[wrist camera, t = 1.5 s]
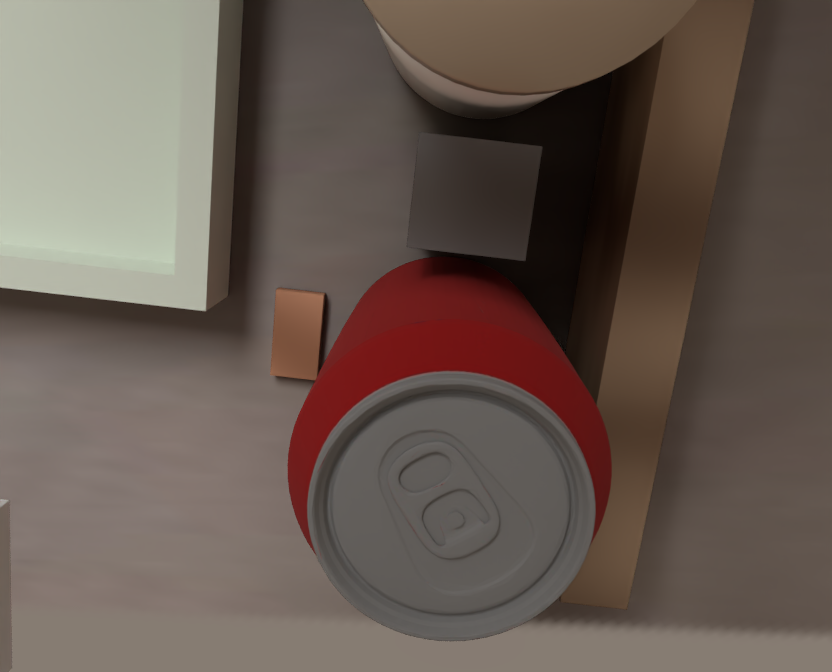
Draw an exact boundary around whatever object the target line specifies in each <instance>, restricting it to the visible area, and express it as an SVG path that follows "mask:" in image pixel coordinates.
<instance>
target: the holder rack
mask: <svg viewBox="0 0 832 672" xmlns="http://www.w3.org/2000/svg"><path fill="white" fill-rule="evenodd" d="M754 1H755V0H697V1H696V2H695V4H694V5H693V6H692V7H691V8H690V9H689V11H688V12H687V13H686V14H685V15H684V16H683V17H682V19H681V20H680V21H679V22H678V23H677V24H676V25H675V26H674V27H673V28H672V29H671V30H670V31H669V32H668V33H667V34H665V35H664V36H663V37H662V38H661V39H660V40H659V41H658V42H657V43H656V44H654V45H653V46H652V47H650V48H649V49H647V50H646V51H644V52H643V53H642V54H640V55H639V56H637V57H636V58H634V59H633V60H632V61H630V62H628V63H626V64H624V65H622V66H620V67H618V68H616V69H615V70H613V75H612V81H611V87H610V92H609V98H608V104H607V110H606V116H605V122H604V128H603V134H602V140H601V146H600V151H599V157H598V163H597V169H596V175H595V181H594V187H593V193H592V199H591V205H590V210H589V216H588V222H587V228H586V234H585V240H584V246H583V252H582V258H581V264H580V269H579V275H578V281H577V287H576V293H575V299H574V305H573V311H572V317H571V323H570V328H569V334H568V340H567V346H566V352H565V355H566V356H567V358H568V360H569V361H570V363H571V364H572V366H573V367H574V369H575V371H576V372H577V374H578V375H579V377H580V379H581V380H582V382H583V383H584V385H585V387H586V388H587V390H588V391H589V393H590V395H591V396H592V398H593V400H594V402H595V404H596V405H597V407H598V409H599V411H600V414H601V416H602V419H603V421H604V424H605V428H606V431H607V434H608V439H609V444H610V449H611V460H612V478H611V489H610V494H609V499H608V504H607V507H606V510H605V514H604V517H603V520H602V522H601V525H600V528H599V530H598V532H597V534H596V536H595V538H594V540H593V542H592V543H591V545H590V547H589V550H588V553H587V556H586V558H585V560H584V562H583V564H582V566H581V568H580V570H579V571H578V573H577V575H576V577H575V578H574V580H573V581H572V582H571V584H570V585H569V586H568V587H567V589H566V590H565V591H564V592H563V593H562V595H561V596H560V597H559V599H560V602H564V603H572V604H581V605H590V606H599V607H608V608H616V609H625V610H627V607H628V603H629V598H630V593H631V588H632V584H633V579H634V574H635V569H636V564H637V560H638V555H639V550H640V545H641V541H642V536H643V531H644V526H645V521H646V517H647V512H648V507H649V502H650V498H651V493H652V488H653V483H654V478H655V474H656V469H657V464H658V459H659V455H660V450H661V445H662V440H663V435H664V431H665V426H666V421H667V416H668V412H669V407H670V402H671V397H672V392H673V388H674V383H675V378H676V373H677V369H678V364H679V359H680V354H681V349H682V345H683V340H684V335H685V330H686V326H687V321H688V316H689V311H690V306H691V302H692V297H693V292H694V287H695V283H696V278H697V273H698V268H699V263H700V259H701V254H702V249H703V244H704V240H705V235H706V230H707V225H708V220H709V216H710V211H711V206H712V201H713V197H714V192H715V187H716V182H717V177H718V173H719V168H720V163H721V158H722V154H723V149H724V144H725V139H726V134H727V130H728V125H729V120H730V115H731V111H732V106H733V101H734V96H735V91H736V87H737V82H738V77H739V72H740V68H741V63H742V58H743V53H744V48H745V44H746V39H747V34H748V29H749V25H750V20H751V15H752V10H753V5H754ZM542 147H543V146H535V145H526V144H518V143H509V142H501V141H492V140H484V139H475V138H466V137H458V136H449V135H441V134H432V133H424V132H419V139H418V148H417V157H416V166H415V175H414V184H413V193H412V202H411V211H410V220H409V229H408V238H407V247H409V248H418V249H426V250H435V251H444V252H452V253H461V254H469V255H478V256H486V257H495V258H504V259H512V260H521V261H525V260H526V253H527V246H528V240H529V233H530V226H531V220H532V213H533V207H534V200H535V193H536V187H537V180H538V173H539V167H540V160H541V153H542ZM324 304H325V293H320V292H312V291H303V290H295V289H286V288H278V289H276V299H275V314H274V329H273V343H272V358H271V373H270V375H274V376H283V377H291V378H300V379H309V380H316V378H317V376H318V374H319V363H320V351H321V339H322V328H323V316H324Z"/></svg>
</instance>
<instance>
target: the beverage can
mask: <svg viewBox="0 0 832 672" xmlns="http://www.w3.org/2000/svg"><path fill="white" fill-rule="evenodd" d="M611 478H612V460H611V449H610V444H609V439H608V434H607V431H606V428H605V424H604V421H603V419H602V416H601V414H600V411H599V409H598V407H597V405H596V404H595V402H594V400H593V398H592V396H591V395H590V393H589V391H588V390H587V388H586V387H585V385H584V383H583V382H582V380H581V379H580V377H579V375H578V374H577V372H576V371H575V369H574V367H573V366H572V364H571V363H570V361H569V360H568V358H567V356H566V355H565V353H564V352H563V350H562V349H561V347H560V346H559V344H558V343H557V341H556V340H555V338H554V337H553V335H552V334H551V332H550V331H549V329H548V328H547V326H546V325H545V324H544V322H543V321H542V319H541V318H540V316H539V315H538V314H537V312H536V311H535V310H534V308H533V307H532V306H531V304H530V303H529V302H528V300H527V299H526V298H525V296H524V295H523V294H522V292H521V291H520V290H519V289H518V288H517V287H516V286H515V285H514V284H513V283H512V282H511V281H510V280H508V279H507V278H506V277H505V276H503V275H502V274H500V273H499V272H497V271H495V270H494V269H492V268H490V267H488V266H486V265H483V264H481V263H478V262H475V261H472V260H469V259H464V258H458V257H444V256H441V257H430V258H423V259H419V260H415V261H412V262H409V263H406V264H404V265H402V266H399V267H397V268H395V269H394V270H392V271H390V272H389V273H387V274H385V275H384V276H383V277H381V278H380V279H379V280H378V281H376V282H375V283H374V284H373V285H372V286H371V287H370V288H369V289H368V290H367V292H366V293H365V294H364V295H363V297H362V298H361V299H360V301H359V302H358V304H357V306H356V307H355V309H354V310H353V312H352V314H351V315H350V317H349V319H348V320H347V322H346V324H345V325H344V327H343V329H342V331H341V333H340V334H339V336H338V338H337V340H336V342H335V343H334V345H333V347H332V349H331V351H330V353H329V355H328V357H327V359H326V360H325V362H324V364H323V366H322V368H321V370H320V372H319V374H318V376H317V378H316V380H315V382H314V384H313V386H312V388H311V390H310V392H309V394H308V396H307V398H306V400H305V402H304V405H303V407H302V409H301V411H300V413H299V415H298V418H297V421H296V423H295V426H294V429H293V433H292V437H291V441H290V447H289V454H288V483H289V492H290V496H291V501H292V505H293V509H294V512H295V515H296V518H297V520H298V523H299V525H300V528H301V530H302V532H303V534H304V536H305V538H306V540H307V542H308V544H309V545H310V547H311V548H312V550H313V551H314V553H315V554H316V556H317V558H318V561H319V563H320V564H321V566H322V568H323V570H324V572H325V573H326V575H327V576H328V578H329V580H330V581H331V582H332V584H333V585H334V586H335V587H336V589H337V590H338V591H339V592H340V593H341V594H342V596H343V597H344V598H345V599H346V600H347V601H349V602H350V603H351V604H352V605H353V606H354V607H355V608H357V609H358V610H359V611H360V612H362V613H363V614H365V615H366V616H368V617H369V618H371V619H372V620H374V621H376V622H378V623H380V624H381V625H383V626H386V627H388V628H390V629H393V630H395V631H398V632H400V633H403V634H406V635H410V636H414V637H418V638H424V639H429V640H437V641H466V640H474V639H480V638H484V637H489V636H493V635H496V634H500V633H503V632H506V631H508V630H511V629H513V628H515V627H517V626H520V625H522V624H524V623H525V622H527V621H529V620H531V619H532V618H534V617H535V616H537V615H538V614H540V613H541V612H543V611H544V610H545V609H546V608H548V607H549V606H550V605H551V604H552V603H553V602H554V601H556V600H557V599H558V598H559V597H560V596H561V595H562V593H563V592H564V591H565V590H566V589H567V587H568V586H569V585H570V584H571V582H572V581H573V580H574V578H575V577H576V575H577V573H578V571H579V570H580V568H581V566H582V564H583V562H584V560H585V558H586V556H587V553H588V550H589V547H590V545H591V543H592V542H593V540H594V538H595V536H596V534H597V532H598V530H599V528H600V525H601V522H602V520H603V517H604V514H605V510H606V507H607V504H608V499H609V494H610V489H611Z"/></svg>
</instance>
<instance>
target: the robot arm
mask: <svg viewBox="0 0 832 672" xmlns="http://www.w3.org/2000/svg"><path fill="white" fill-rule="evenodd" d="M11 632H12V627H11V563H10V500H3V499H0V672H9V671H10V669H11V668H12V633H11Z"/></svg>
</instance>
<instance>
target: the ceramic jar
mask: <svg viewBox="0 0 832 672" xmlns="http://www.w3.org/2000/svg"><path fill="white" fill-rule="evenodd" d="M362 1H363V2H364V4H365V5H366V7H367V8H368V10H369V11H370V13H371V14H372V16H373V17H374V19H375V22H376V24H377V26H378V29H379V31H380V34H381V36H382V38H383V41H384V43H385V46H386V48H387V50H388V53H389V55H390V57H391V59H392V61H393V63H394V65H395V67H396V69H397V70H398V72H399V73H400V75H401V76H402V78H403V79H404V80H405V81H406V82H407V84H408V85H409V86H410V87H411V88H412V89H413V90H414V91H415V92H416V93H417V94H418V95H420V96H421V97H422V98H423V99H425V100H426V101H428V102H429V103H431V104H432V105H434V106H435V107H437V108H439V109H442V110H444V111H446V112H448V113H451V114H454V115H457V116H461V117H467V118H472V119H493V118H501V117H506V116H510V115H514V114H516V113H519V112H522V111H524V110H527V109H528V108H530V107H532V106H534V105H536V104H538V103H540V102H542V101H544V100H545V99H547V98H549V97H551V96H553V95H555V94H557V93H559V92H561V91H562V90H566V89H570V88H573V87H576V86H579V85H581V84H584V83H587V82H589V81H592V80H595V79H597V78H599V77H601V76H603V75H605V74H607V73H609V72H611V71H613V70H615V69H616V68H618V67H620V66H622V65H624V64H626V63H628V62H630V61H632V60H633V59H634V58H636V57H637V56H639V55H640V54H642V53H643V52H644V51H646V50H647V49H649V48H650V47H652V46H653V45H654V44H656V43H657V42H658V41H659V40H660V39H661V38H662V37H663V36H664V35H665V34H667V33H668V32H669V31H670V30H671V29H672V28H673V27H674V26H675V25H676V24H677V23H678V22H679V21H680V20H681V19H682V17H683V16H684V15H685V14H686V13H687V12H688V11H689V9H690V8H691V7H692V6H693V5H694V4H695V2H696V1H697V0H362Z"/></svg>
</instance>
